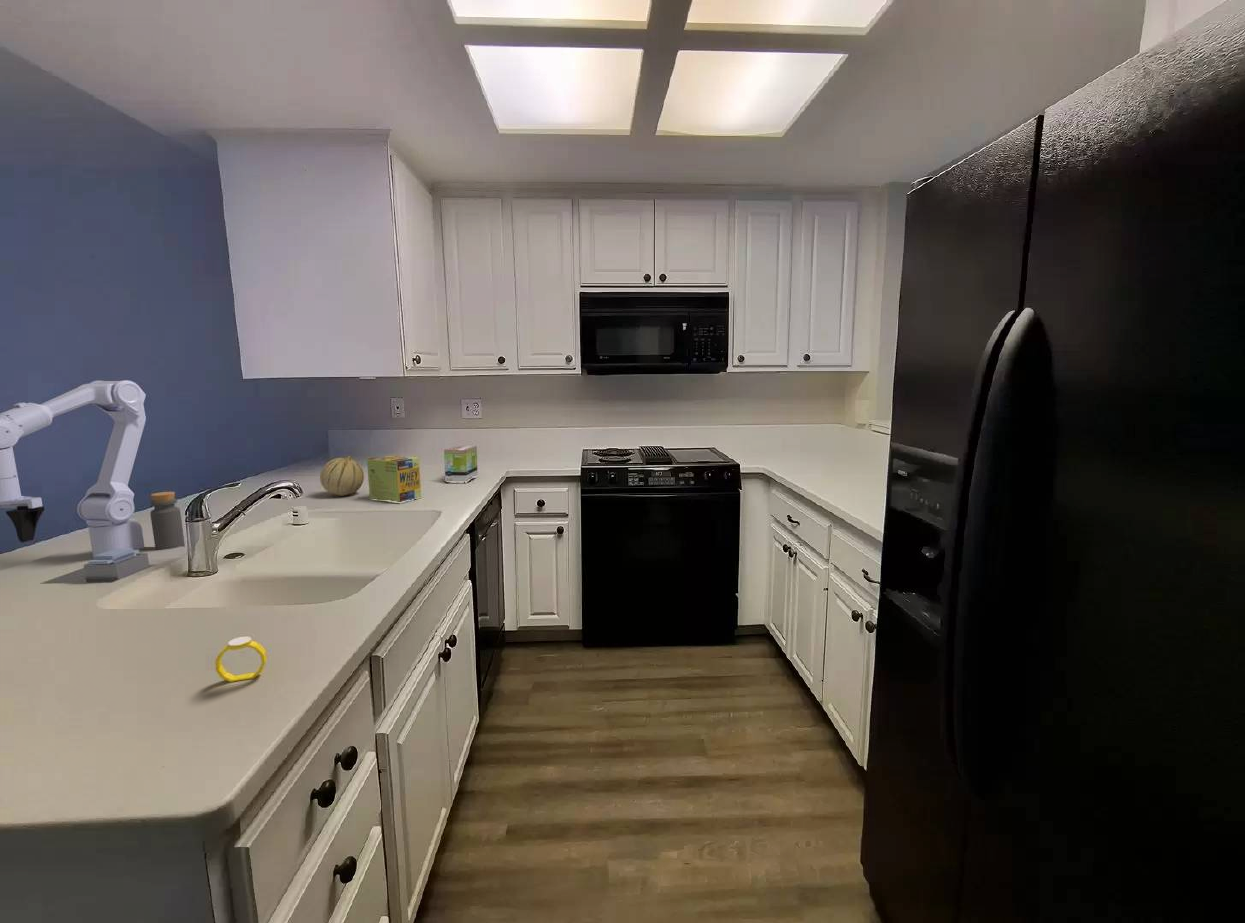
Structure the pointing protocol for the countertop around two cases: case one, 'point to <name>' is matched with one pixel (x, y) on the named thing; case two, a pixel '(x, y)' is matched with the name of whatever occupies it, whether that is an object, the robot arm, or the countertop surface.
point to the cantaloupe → (342, 476)
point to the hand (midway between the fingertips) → (8, 541)
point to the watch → (234, 645)
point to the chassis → (105, 571)
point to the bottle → (166, 521)
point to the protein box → (394, 478)
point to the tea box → (460, 463)
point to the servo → (113, 556)
